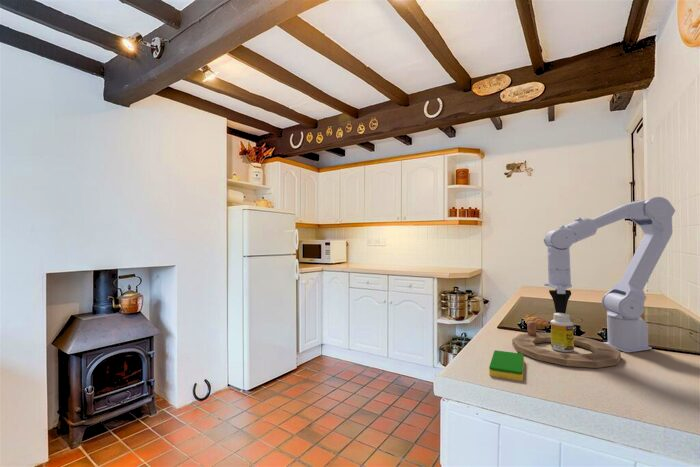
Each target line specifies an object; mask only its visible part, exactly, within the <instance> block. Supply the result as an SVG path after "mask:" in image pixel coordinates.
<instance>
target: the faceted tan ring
mask: <svg viewBox="0 0 700 467" xmlns="http://www.w3.org/2000/svg"><path fill="white" fill-rule="evenodd" d="M526 327H527V328H526V329H527V333H522V334H517V335H516V336H515V337H514V338H512V341H511V343H512V346H513V347H514V348H515V350H516V351H517V353H521V354H524V356H528V357H530V358H532V359H535V360H537V361H542V362H547V363H552V364H557V365H562V366H566V367H581V368H593V369H594V368H595V369H599V368H604V367H612V366H617V365H618V364H619V362H620V360H621V356H622V355H621V354H622V353H621V350H617V349H615V348H613V347H612V346H610V345H609V344H606V343H603V342H604V341H603V342H602V341H599V340H595V339H592V338H589V337H585V336H578V335H573V336H574V346H577V347H580V348H584V349H587V350H589V351H591V352H590V353H581V354H579V353H566V352H560V351H555V350H549V349H546V348H543V347H540V346H538V345H536V344H540V343H542V344H543V343H551V332H538V331H537V329H536V322H534V321H527V326H526Z"/></svg>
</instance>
